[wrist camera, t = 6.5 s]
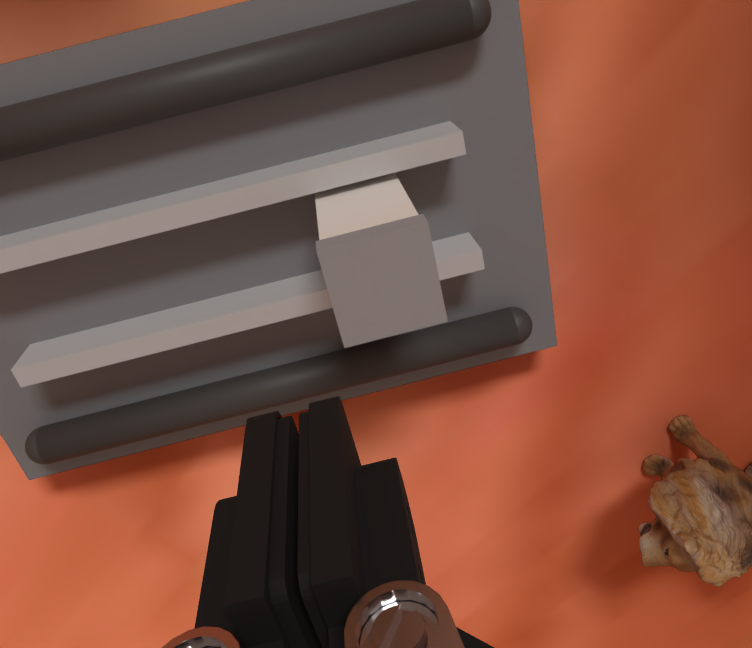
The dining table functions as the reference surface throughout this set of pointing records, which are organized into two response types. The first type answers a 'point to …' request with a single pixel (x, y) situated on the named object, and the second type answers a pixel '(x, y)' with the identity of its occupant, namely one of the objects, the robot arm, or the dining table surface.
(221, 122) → the breaker panel
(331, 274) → the knob
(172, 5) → the dining table surface
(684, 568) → the lion figurine
